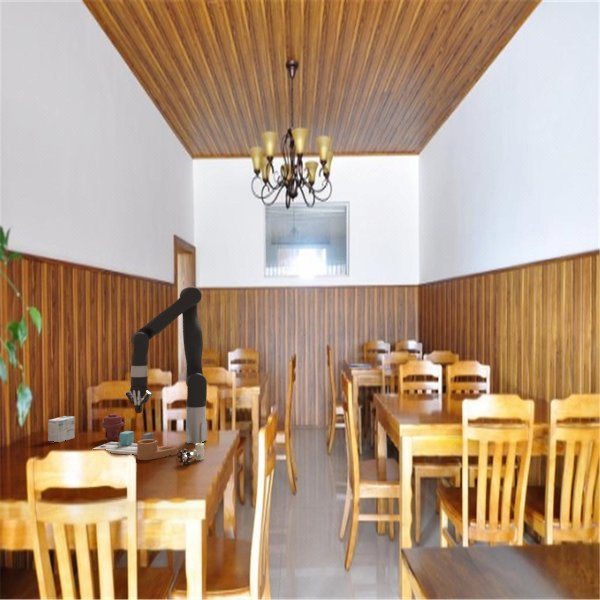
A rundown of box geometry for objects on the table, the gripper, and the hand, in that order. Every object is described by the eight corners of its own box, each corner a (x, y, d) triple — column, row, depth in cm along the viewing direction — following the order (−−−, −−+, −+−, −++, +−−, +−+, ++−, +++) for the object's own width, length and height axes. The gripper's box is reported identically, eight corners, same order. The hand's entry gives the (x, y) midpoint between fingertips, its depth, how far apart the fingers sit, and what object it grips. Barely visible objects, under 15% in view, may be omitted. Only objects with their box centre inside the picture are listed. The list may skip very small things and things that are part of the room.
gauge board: (157, 447, 226) (157, 444, 226) (141, 455, 213) (141, 451, 213) (110, 444, 232) (110, 441, 232) (92, 451, 220) (92, 447, 220)
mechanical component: (107, 436, 247) (126, 437, 246) (97, 441, 237) (117, 442, 236) (108, 412, 248) (127, 412, 247) (98, 416, 238) (117, 416, 237)
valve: (196, 457, 211) (177, 464, 200) (196, 441, 211) (177, 448, 200) (208, 459, 208) (190, 466, 197) (208, 443, 208) (190, 450, 197)
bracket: (141, 461, 205) (141, 444, 205) (134, 457, 211) (134, 441, 212) (181, 454, 216) (181, 438, 216) (173, 450, 223) (173, 435, 223)
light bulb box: (64, 437, 247) (65, 415, 248) (75, 438, 245) (75, 416, 245) (47, 442, 237) (47, 419, 237) (57, 443, 235) (58, 420, 235)
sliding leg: (133, 443, 228) (133, 431, 228) (121, 448, 219) (121, 436, 219) (126, 442, 229) (126, 430, 229) (113, 447, 220) (113, 435, 220)
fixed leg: (153, 445, 225) (153, 432, 226) (142, 450, 216) (142, 437, 217) (147, 444, 226) (148, 432, 226) (136, 449, 217) (136, 437, 217)
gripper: (156, 375, 228) (155, 412, 227) (131, 374, 231) (130, 411, 230) (147, 376, 221) (146, 415, 220) (121, 375, 224) (120, 413, 223)
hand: (138, 413), depth 225 cm, fingers closed
